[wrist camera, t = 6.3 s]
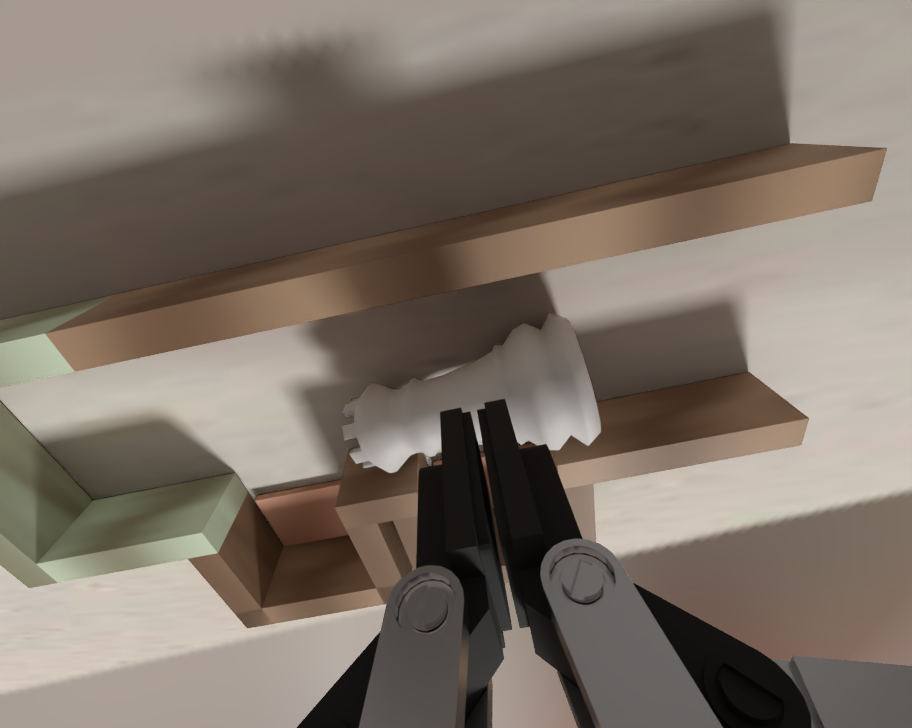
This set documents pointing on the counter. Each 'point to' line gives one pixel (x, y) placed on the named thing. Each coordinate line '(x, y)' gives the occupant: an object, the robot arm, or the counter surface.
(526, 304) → the counter surface
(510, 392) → the rook chess piece
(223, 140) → the counter surface
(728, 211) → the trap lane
